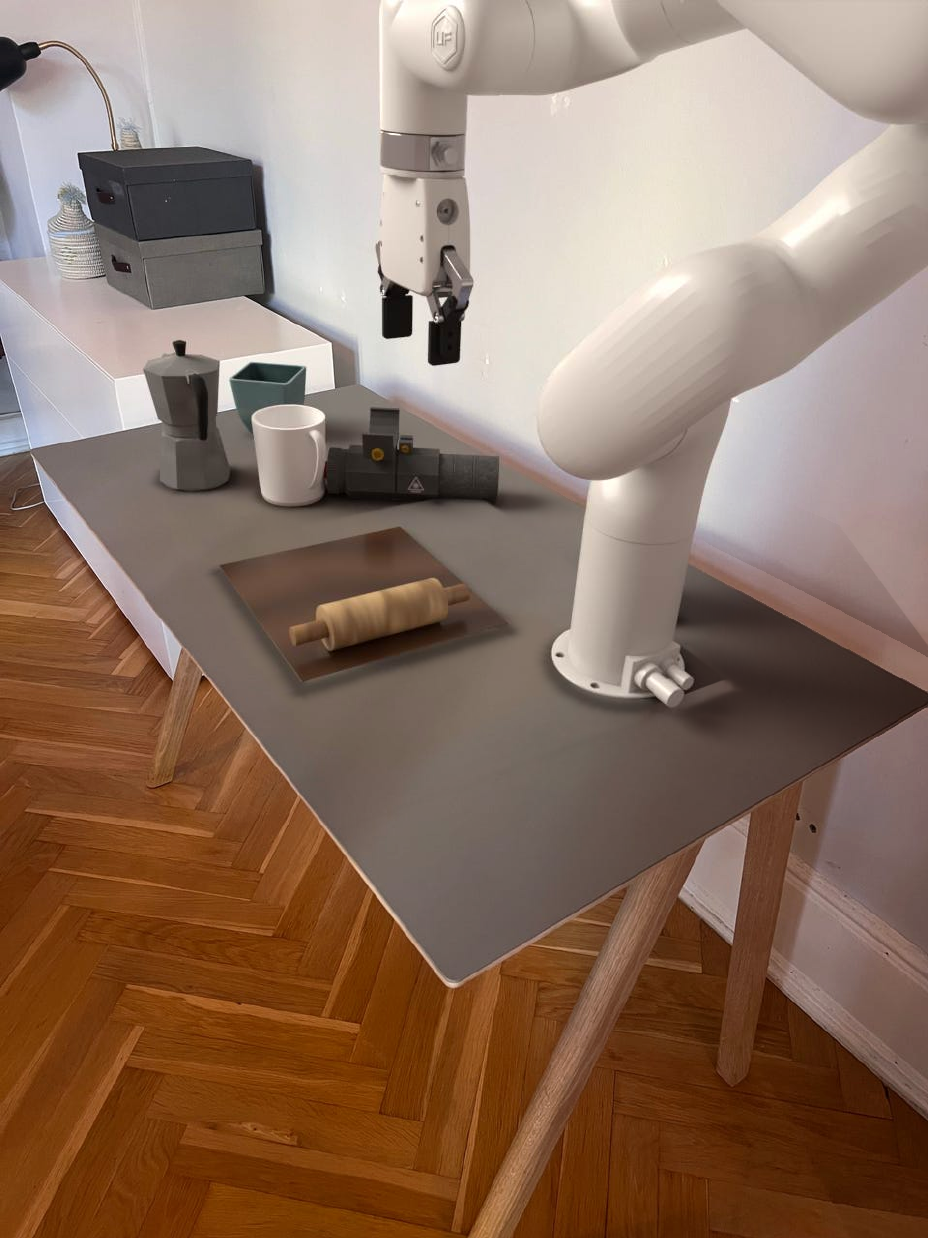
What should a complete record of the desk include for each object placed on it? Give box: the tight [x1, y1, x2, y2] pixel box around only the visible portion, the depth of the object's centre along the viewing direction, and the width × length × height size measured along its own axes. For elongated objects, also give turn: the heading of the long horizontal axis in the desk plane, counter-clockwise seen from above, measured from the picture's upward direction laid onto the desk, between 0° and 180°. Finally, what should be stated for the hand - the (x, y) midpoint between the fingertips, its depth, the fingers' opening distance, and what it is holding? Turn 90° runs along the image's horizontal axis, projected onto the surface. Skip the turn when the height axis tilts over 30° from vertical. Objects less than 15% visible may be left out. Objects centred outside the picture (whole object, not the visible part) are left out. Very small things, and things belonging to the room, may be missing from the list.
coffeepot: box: [142, 339, 231, 492], centre depth 115 cm, size 15×9×18 cm, turn 29°
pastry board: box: [218, 526, 508, 683], centre depth 95 cm, size 24×22×1 cm
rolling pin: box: [289, 578, 470, 651], centre depth 88 cm, size 4×18×4 cm
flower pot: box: [228, 361, 307, 436], centre depth 133 cm, size 9×9×9 cm
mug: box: [252, 404, 327, 508], centre depth 114 cm, size 11×9×10 cm
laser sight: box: [324, 406, 500, 502], centre depth 116 cm, size 10×22×10 cm, turn 89°
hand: (419, 349), depth 89 cm, fingers open, 9 cm apart
